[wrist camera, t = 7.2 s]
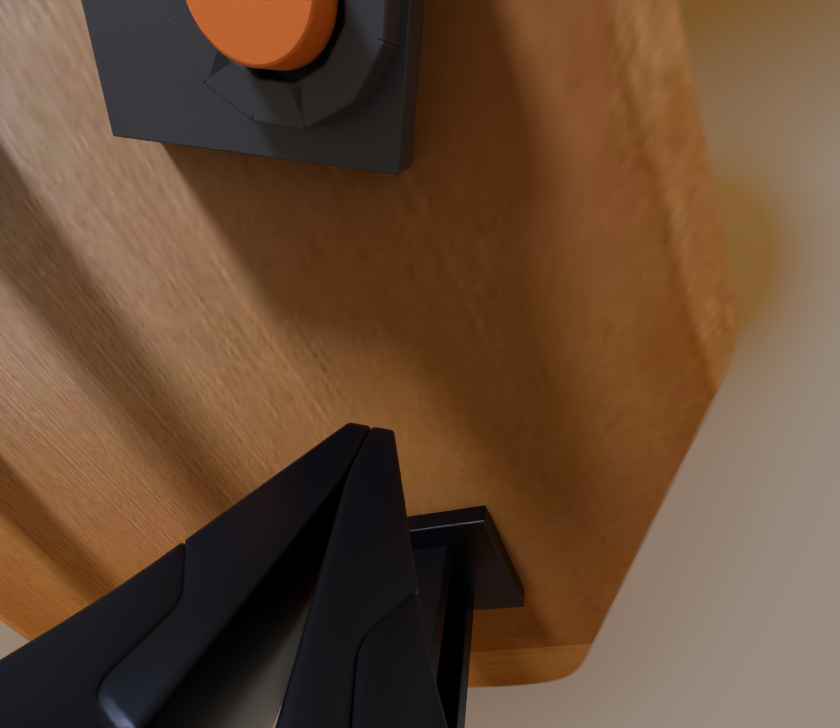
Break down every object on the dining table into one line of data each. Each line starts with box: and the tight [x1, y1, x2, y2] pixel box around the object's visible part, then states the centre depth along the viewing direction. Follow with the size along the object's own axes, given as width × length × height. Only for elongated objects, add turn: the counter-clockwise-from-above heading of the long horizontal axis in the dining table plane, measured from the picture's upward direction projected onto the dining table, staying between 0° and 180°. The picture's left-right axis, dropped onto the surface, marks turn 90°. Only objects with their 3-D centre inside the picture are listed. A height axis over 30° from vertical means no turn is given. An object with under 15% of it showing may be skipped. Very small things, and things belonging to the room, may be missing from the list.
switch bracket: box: [407, 506, 524, 728], centre depth 25 cm, size 10×8×11 cm
